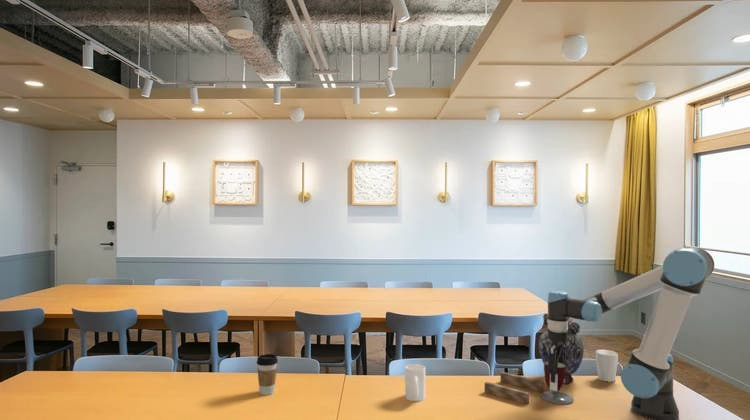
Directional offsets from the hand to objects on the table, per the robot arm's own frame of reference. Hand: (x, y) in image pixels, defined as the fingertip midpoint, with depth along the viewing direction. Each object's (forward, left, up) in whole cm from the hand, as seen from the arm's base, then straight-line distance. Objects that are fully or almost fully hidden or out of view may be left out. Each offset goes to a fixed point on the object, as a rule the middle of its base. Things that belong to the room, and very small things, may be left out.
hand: (557, 386), depth 181 cm
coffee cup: (+93, +72, -5) cm, 118 cm away
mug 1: (+43, +38, -5) cm, 58 cm away
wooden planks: (+16, +5, -5) cm, 17 cm away
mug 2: (0, 0, -1) cm, 1 cm away
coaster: (0, 0, -5) cm, 5 cm away
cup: (-10, -36, -5) cm, 38 cm away
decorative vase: (+6, -23, -5) cm, 24 cm away
